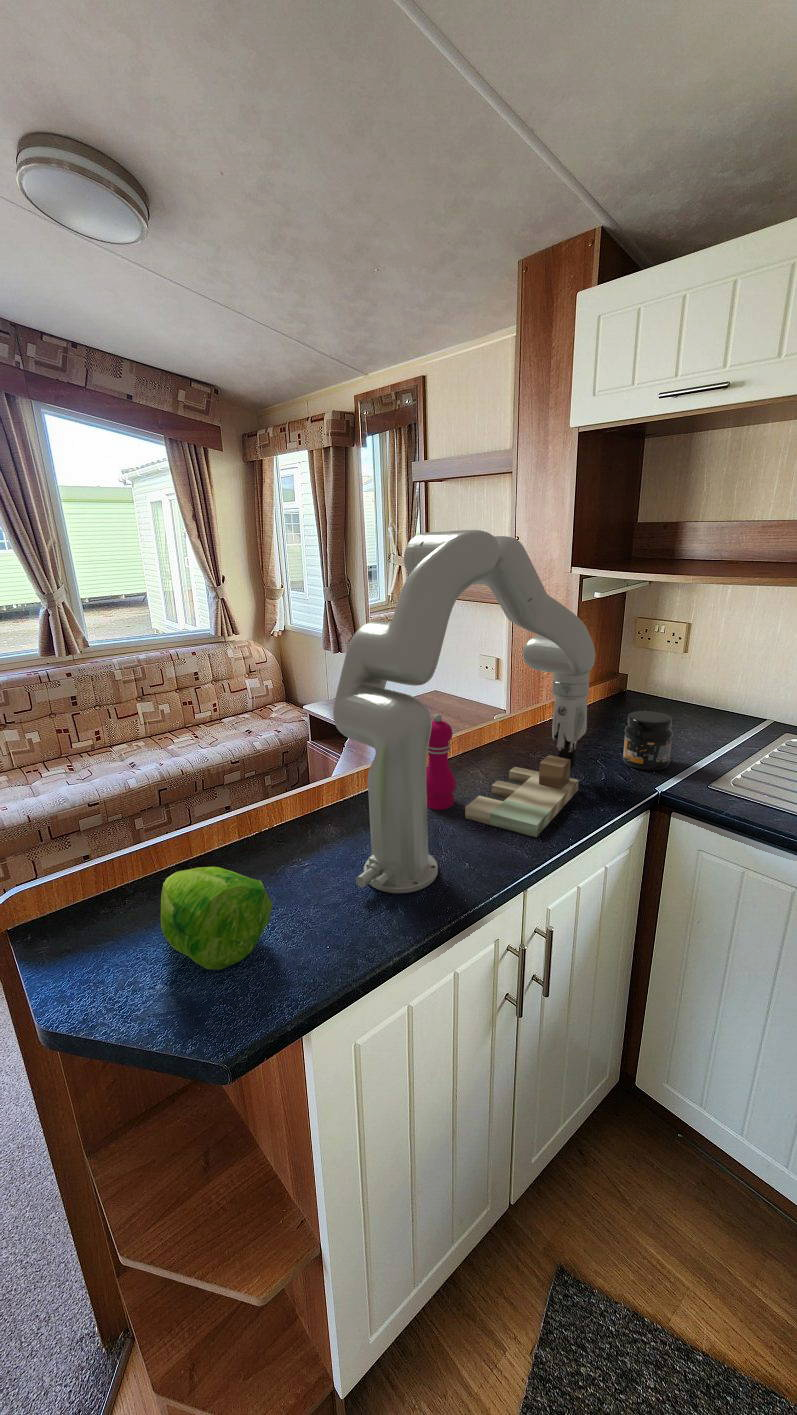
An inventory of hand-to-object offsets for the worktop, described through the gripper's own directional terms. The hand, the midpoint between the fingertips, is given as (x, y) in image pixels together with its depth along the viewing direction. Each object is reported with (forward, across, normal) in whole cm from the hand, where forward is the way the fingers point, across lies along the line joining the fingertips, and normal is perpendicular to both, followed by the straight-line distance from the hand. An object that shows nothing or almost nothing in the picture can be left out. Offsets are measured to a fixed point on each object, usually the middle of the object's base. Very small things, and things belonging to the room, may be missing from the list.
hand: (566, 766), depth 130 cm
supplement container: (+4, +19, -13) cm, 24 cm away
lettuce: (+4, -80, +24) cm, 83 cm away
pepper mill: (+4, -25, +19) cm, 31 cm away
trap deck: (+4, -16, +4) cm, 16 cm away
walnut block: (+1, -8, 0) cm, 8 cm away
